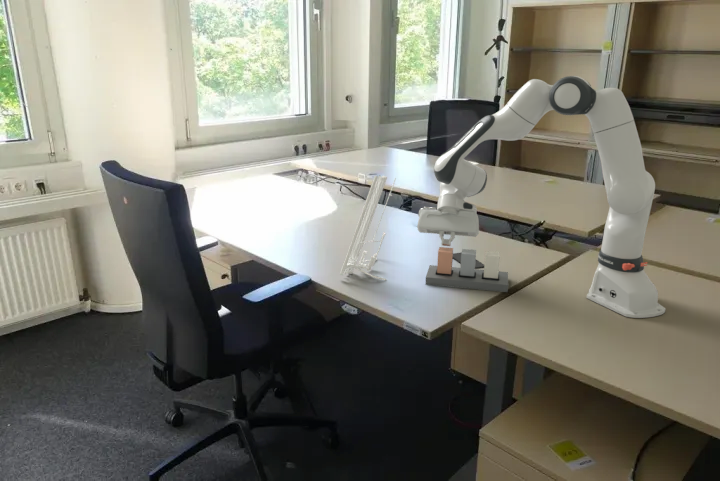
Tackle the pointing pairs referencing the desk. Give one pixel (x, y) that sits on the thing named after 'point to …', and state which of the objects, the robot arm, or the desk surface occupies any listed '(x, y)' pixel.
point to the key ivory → (491, 264)
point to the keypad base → (467, 280)
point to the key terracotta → (445, 260)
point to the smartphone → (458, 258)
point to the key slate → (468, 262)
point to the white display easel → (365, 231)
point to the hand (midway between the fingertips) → (445, 245)
